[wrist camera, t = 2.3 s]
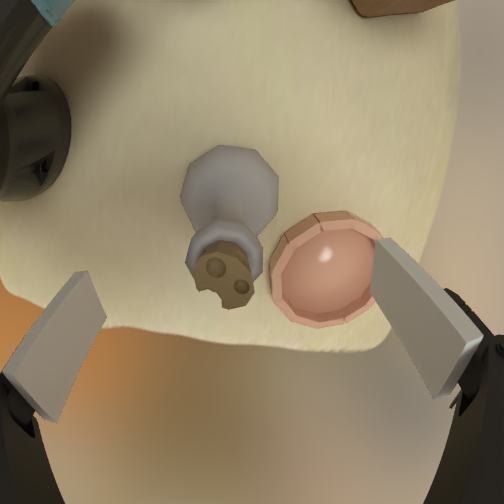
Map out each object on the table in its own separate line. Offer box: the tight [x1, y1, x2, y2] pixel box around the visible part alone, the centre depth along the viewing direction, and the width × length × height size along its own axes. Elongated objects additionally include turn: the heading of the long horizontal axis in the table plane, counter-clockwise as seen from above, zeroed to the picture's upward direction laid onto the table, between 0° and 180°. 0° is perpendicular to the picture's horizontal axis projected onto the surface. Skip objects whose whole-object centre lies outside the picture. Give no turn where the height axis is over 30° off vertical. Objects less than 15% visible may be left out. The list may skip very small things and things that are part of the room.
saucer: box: [269, 211, 383, 329], centre depth 31 cm, size 14×14×2 cm
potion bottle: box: [180, 145, 278, 310], centre depth 19 cm, size 9×9×18 cm
